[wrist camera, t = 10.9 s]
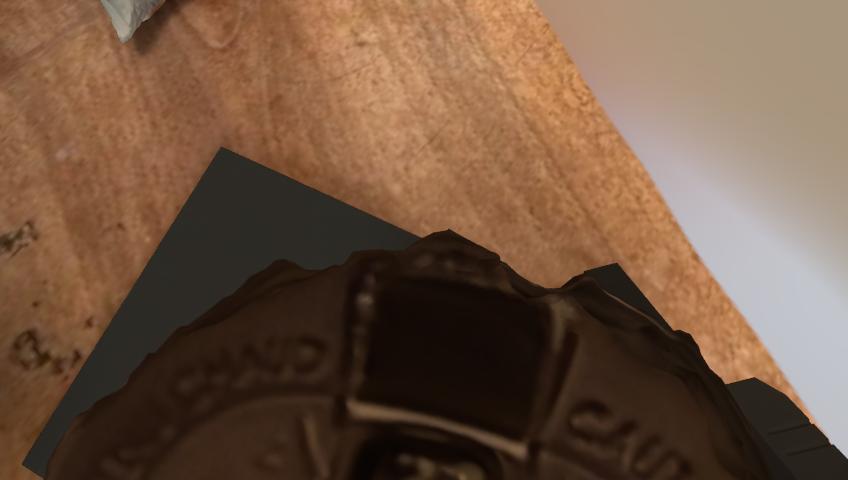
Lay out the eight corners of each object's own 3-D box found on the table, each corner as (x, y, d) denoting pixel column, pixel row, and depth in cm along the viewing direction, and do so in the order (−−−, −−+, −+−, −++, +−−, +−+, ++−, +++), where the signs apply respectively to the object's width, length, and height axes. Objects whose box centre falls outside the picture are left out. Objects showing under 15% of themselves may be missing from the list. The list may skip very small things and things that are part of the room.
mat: (29, 463, 30) (20, 464, 29) (225, 150, 34) (220, 146, 34) (246, 603, 27) (241, 608, 27) (430, 244, 32) (429, 241, 31)
